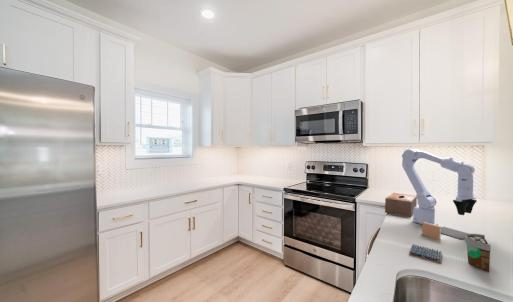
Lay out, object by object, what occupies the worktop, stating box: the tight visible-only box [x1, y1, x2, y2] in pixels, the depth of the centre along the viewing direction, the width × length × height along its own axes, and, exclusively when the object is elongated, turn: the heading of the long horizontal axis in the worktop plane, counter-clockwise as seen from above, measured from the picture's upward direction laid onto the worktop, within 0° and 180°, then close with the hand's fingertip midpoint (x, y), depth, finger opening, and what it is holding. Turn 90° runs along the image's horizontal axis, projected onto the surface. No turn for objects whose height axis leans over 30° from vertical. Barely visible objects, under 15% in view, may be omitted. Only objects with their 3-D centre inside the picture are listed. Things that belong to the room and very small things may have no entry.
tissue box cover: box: [384, 192, 418, 218], centre depth 152 cm, size 26×14×10 cm, turn 137°
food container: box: [463, 233, 492, 273], centre depth 82 cm, size 12×6×10 cm, turn 141°
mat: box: [441, 226, 470, 241], centre depth 112 cm, size 12×12×1 cm
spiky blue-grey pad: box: [408, 243, 443, 264], centre depth 89 cm, size 10×11×2 cm
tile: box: [421, 222, 442, 240], centre depth 107 cm, size 7×2×6 cm, turn 27°
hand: (464, 213), depth 112 cm, fingers open, 7 cm apart
